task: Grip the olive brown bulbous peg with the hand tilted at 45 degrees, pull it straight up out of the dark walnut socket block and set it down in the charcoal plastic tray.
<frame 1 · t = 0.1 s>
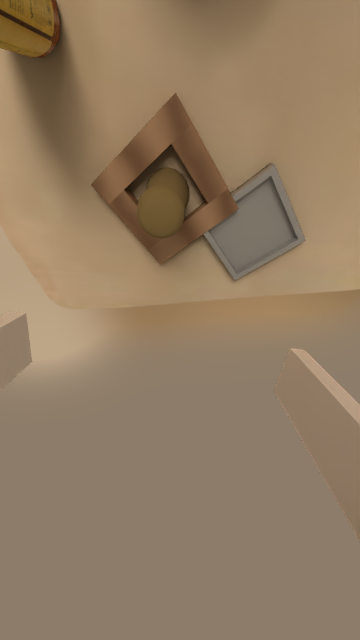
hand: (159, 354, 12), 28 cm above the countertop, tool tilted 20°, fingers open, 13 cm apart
sauce bottle: (30, 15, 22), on the countertop
socket block: (167, 193, 32), on the countertop
tray: (249, 227, 34), on the countertop
olive brown bulbous peg: (167, 193, 32), resting in socket block
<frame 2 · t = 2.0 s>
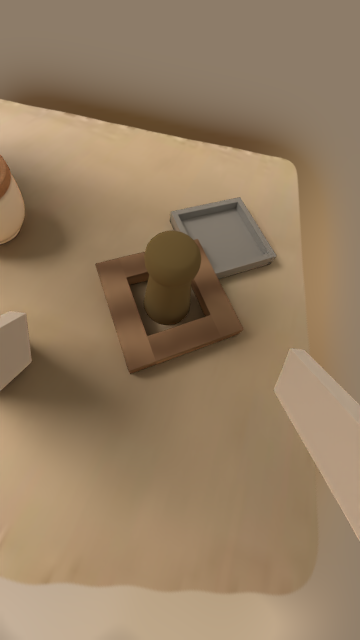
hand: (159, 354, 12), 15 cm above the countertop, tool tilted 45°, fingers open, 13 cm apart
socket block: (167, 303, 29), on the countertop
tray: (219, 242, 34), on the countertop
olive brown bulbous peg: (167, 303, 30), resting in socket block
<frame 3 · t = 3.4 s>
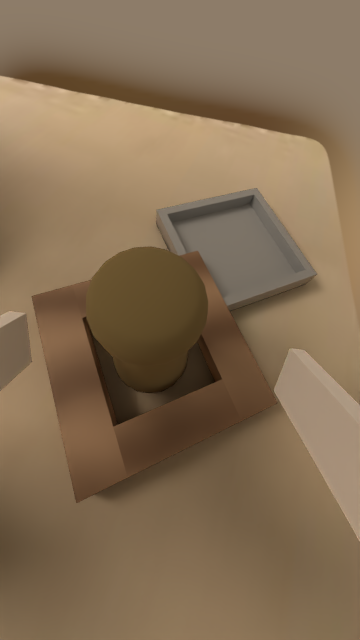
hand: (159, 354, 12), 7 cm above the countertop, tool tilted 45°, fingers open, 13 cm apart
socket block: (151, 354, 18), on the countertop
tray: (229, 253, 23), on the countertop
olive brown bulbous peg: (151, 354, 19), resting in socket block
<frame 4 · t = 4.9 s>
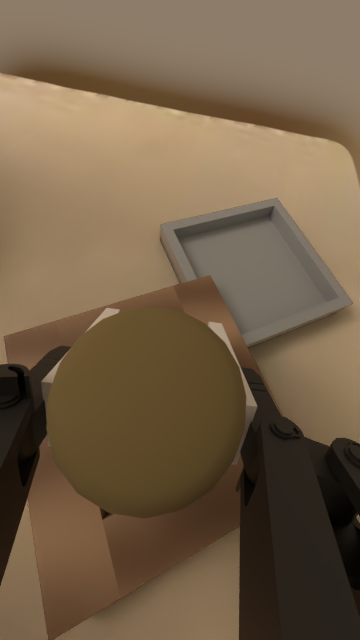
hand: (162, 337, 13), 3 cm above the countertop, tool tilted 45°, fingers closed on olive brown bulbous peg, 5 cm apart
socket block: (153, 405, 15), on the countertop
tray: (245, 275, 20), on the countertop
olive brown bulbous peg: (153, 405, 15), resting in socket block, touching gripper
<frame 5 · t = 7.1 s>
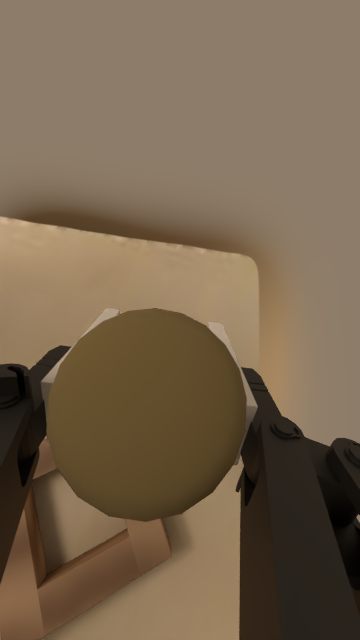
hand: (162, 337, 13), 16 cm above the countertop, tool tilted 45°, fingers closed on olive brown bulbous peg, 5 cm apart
socket block: (80, 502, 23), on the countertop
olive brown bulbous peg: (153, 406, 15), point 13 cm above the countertop, touching gripper
when the fingers open (5 cm above the countertop, at t = 9.6 s): olive brown bulbous peg drops 1 cm, resting on tray.
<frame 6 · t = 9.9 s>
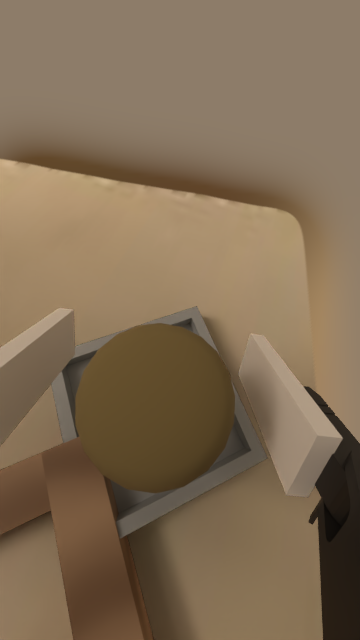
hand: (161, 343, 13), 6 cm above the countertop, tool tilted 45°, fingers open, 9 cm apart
socket block: (2, 617, 12), on the countertop
tray: (153, 406, 17), on the countertop
olive brown bulbous peg: (154, 407, 16), resting on tray
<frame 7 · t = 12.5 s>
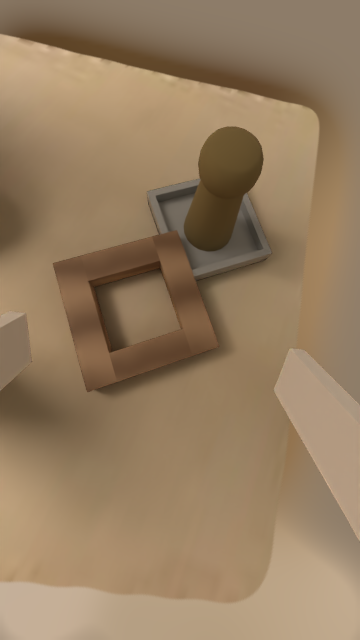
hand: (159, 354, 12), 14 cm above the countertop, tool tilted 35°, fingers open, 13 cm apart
socket block: (137, 308, 26), on the countertop
tray: (206, 230, 28), on the countertop
olive brown bulbous peg: (207, 229, 28), resting on tray
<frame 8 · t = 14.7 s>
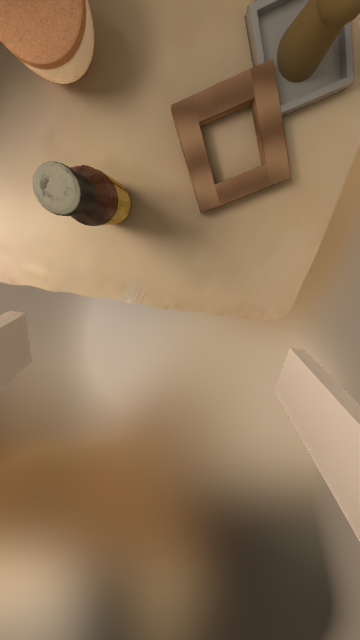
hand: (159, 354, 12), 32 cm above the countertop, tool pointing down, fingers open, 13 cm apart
lidded jar: (65, 49, 30), on the countertop
sauce bottle: (114, 204, 37), on the countertop
socket block: (230, 147, 34), on the countertop
tray: (297, 54, 30), on the countertop
olive brown bulbous peg: (299, 53, 30), resting on tray
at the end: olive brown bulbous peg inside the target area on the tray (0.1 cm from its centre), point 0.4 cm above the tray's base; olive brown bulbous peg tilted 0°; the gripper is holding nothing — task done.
